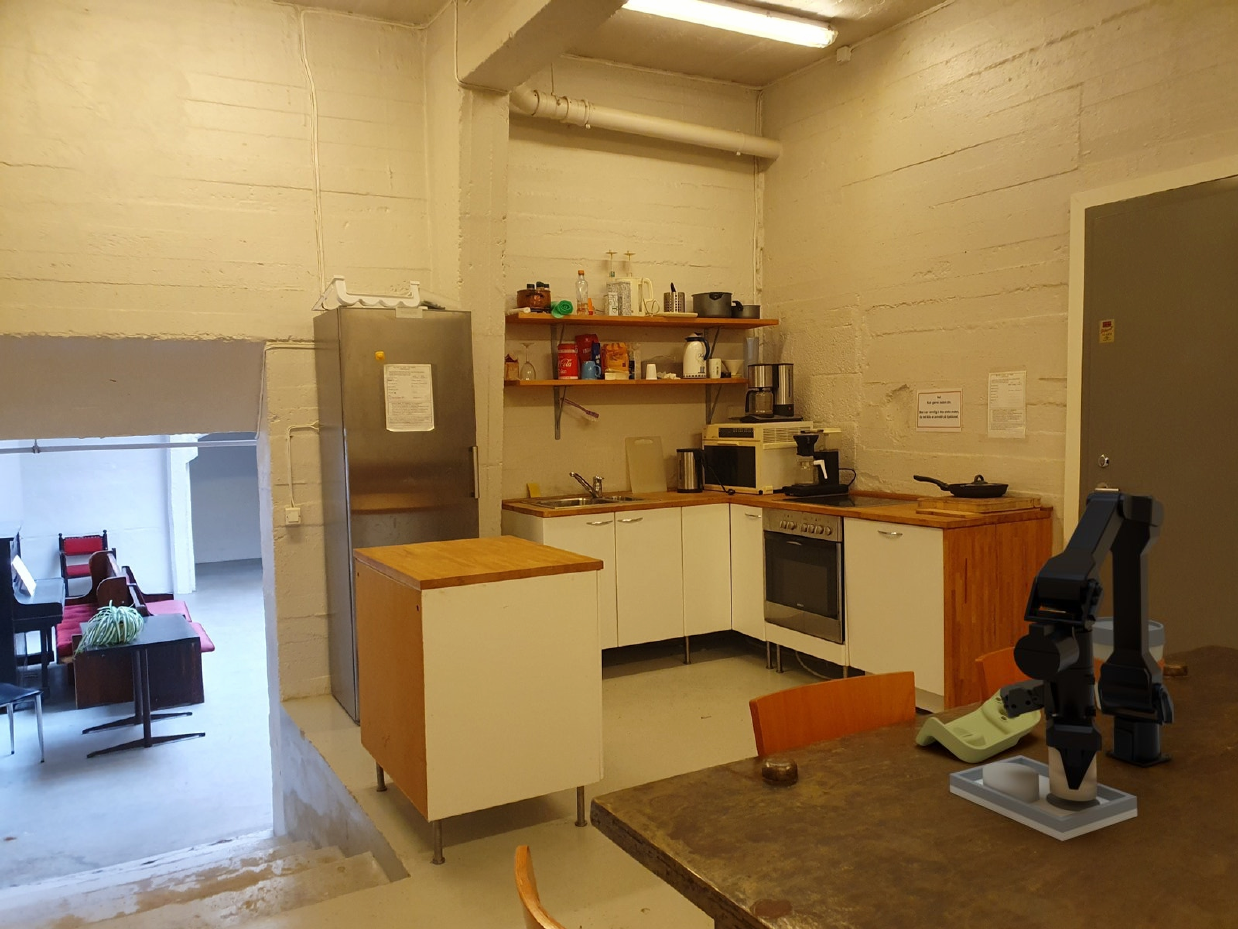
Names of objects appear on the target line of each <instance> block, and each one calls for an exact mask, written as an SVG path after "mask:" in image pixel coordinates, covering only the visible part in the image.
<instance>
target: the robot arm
mask: <svg viewBox="0 0 1238 929" xmlns="http://www.w3.org/2000/svg"><path fill="white" fill-rule="evenodd" d="M1083 511H1084V512H1083V513H1082V516H1081V517H1080V519H1079V521H1078V523H1077V524H1076V527H1075V528H1074V531H1073V533H1072V535H1071V537H1070V538H1069V540H1068V542H1067V545H1066V546H1065V548H1064V550H1063V551H1062V552H1061V553H1059V554H1057V555H1055V556H1052V557H1050V558H1048V559H1047V561H1046V562H1045V563H1043V565H1042V566H1041V568H1040V569H1039V571H1038V573H1037V574H1036V575H1035V577H1034V578H1033V580H1032V585H1031V587H1030V588H1031V589H1030V592H1029V596H1028V598H1027V599H1028V601H1027V605H1026V608H1025V612H1024V615H1023V621H1024V622H1028V623H1029V622H1030V623H1029V624H1028V634H1026V635H1025V634H1024V635H1023V636H1022V637H1020V638H1019V639H1018V640H1017V642H1016V643H1015V645H1014V649H1013V660H1014V662H1015V665H1016V666H1017V668H1018V669H1019V671H1020V672H1021V673H1022V674H1024V675H1025V676H1027V677H1028V678H1030V679H1026V680H1022V681H1018V682H1014V683H1010V684H1007V685H1004V686H1002V687H1000V688H1001V689H1000V688H999V689H1000V697H1001V700H1002V702H1003V707H1004V709H1006V712H1007V714H1008V716H1009V718H1015V717H1019V716H1020V715H1021V714H1025V713H1029V712H1033V711H1037V710H1039V711H1041V710H1043V712H1044V714H1043V715H1044V717H1045V746H1046V747H1048V746H1049V747H1054V748H1055V749H1056V750H1058V751H1059V752H1060V755H1061V759H1062V763H1063V767H1064V771H1065V775H1066V779H1067V783H1068V787H1069V789H1071V790H1078V789H1079V787H1080V785H1081V783H1082V781H1083V779H1084V777H1085V774H1086V772H1087V770H1088V768H1089V766H1090V764H1091V762H1092V760H1093V758H1094V756H1095V754H1096V755H1097V752H1101V751H1102V752H1103V735H1102V734H1103V733H1102V730H1101V726H1100V725H1098V724H1097V723H1096V722H1095V718H1097V708H1096V705H1095V704H1096V703H1095V701H1096V695H1095V688H1094V685H1095V675H1094V658H1093V629H1092V625H1093V624H1095V621H1096V620H1097V618H1099V613H1100V610H1101V607H1102V604H1103V602H1104V599H1105V596H1106V595H1105V589H1104V586H1103V582H1102V580H1101V576H1100V571H1101V569H1102V567H1103V564H1104V562H1105V560H1106V557H1107V556H1108V553H1109V552H1110V554H1111V569H1112V570H1111V572H1112V573H1111V575H1112V617H1113V652H1112V654H1111V655H1110V656H1109V658H1108V659H1107V661H1106V662H1105V663H1103V664H1102V666H1101V667H1100V675H1101V676H1100V678H1099V681H1098V695H1099V701H1100V706H1101V709H1100V710H1101V715H1103V716H1112V717H1113V729H1112V735H1113V736H1112V737H1113V740H1112V741H1113V742H1112V743H1113V745H1112V746H1113V747H1112V748H1110V749H1106V750H1104V753H1105V755H1107V756H1110V757H1113V758H1114V759H1119V760H1121V761H1125V762H1128V763H1132V764H1134V765H1137V766H1141V767H1149V766H1152V765H1155V764H1159V763H1162V762H1166V761H1169V760H1171V759H1172V755H1171V754H1168V753H1165V752H1162V730H1161V728H1162V727H1161V726H1164V725H1169V724H1174V722H1175V720H1174V718H1175V717H1174V714H1175V710H1174V708H1175V707H1174V705H1175V704H1174V702H1173V700H1172V698H1171V695H1170V693H1169V691H1168V689H1167V686H1166V685H1165V684H1164V683H1163V676H1162V670H1161V668H1160V667H1159V665H1158V664H1157V662H1156V661H1155V659H1154V658H1153V656H1152V655H1151V653H1150V652H1149V620H1150V619H1149V564H1148V563H1149V561H1148V559H1149V552H1150V551H1151V550H1152V548H1153V547H1154V545H1155V544H1156V542H1157V541H1158V540H1159V538H1160V536H1161V527H1162V526H1163V524H1164V520H1165V509H1164V505H1163V504H1162V502H1160V501H1159V500H1156V498H1155V497H1154V495H1152V494H1130V493H1125V492H1123V491H1110V490H1109V491H1103V490H1102V491H1101V490H1100V491H1097V490H1095V491H1093V492H1089V493H1088V494H1087V498H1086V501H1085V509H1084V510H1083ZM1041 608H1042V609H1043V610H1042V609H1041Z"/></svg>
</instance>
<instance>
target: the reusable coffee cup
mask: <svg viewBox="0 0 1238 929" xmlns="http://www.w3.org/2000/svg"><path fill="white" fill-rule="evenodd" d="M1092 629H1093V658H1094V675H1095V685H1094V695H1095V701H1096V706H1097V708H1098V709H1100V710H1101V706H1100V701H1099V695H1098V681H1099V678H1100V676H1101V675H1100V667H1101V666H1102V664H1103V663H1105V662H1106V661H1107V659H1108V658H1109V656H1110V655H1111V654H1112V652H1113V616H1103V617H1101V616H1100V617H1099V616H1098V617H1097V620H1096V621H1095V624H1093V625H1092ZM1166 641H1167V640H1166V634H1165V627H1164V624H1162V623H1160V622H1158V621H1155V620H1151V619H1149V652H1150V653H1151V655H1152V656H1153V658H1154V659H1155V661H1156V662H1157V664H1158V665H1159V667H1160V668H1161V670H1162V677H1163V675H1164V666H1165V657H1164V656H1163V653H1164V645H1165V644H1166V643H1167V642H1166Z"/></svg>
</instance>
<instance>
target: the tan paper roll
mask: <svg viewBox="0 0 1238 929" xmlns="http://www.w3.org/2000/svg"><path fill="white" fill-rule="evenodd" d="M1047 747H1048V765H1049V787H1050V792H1051V793H1052V794H1054V795H1055V796H1057V797H1060V798H1063V799H1068V800H1074V801H1088V800H1093V799H1095V798H1096V797H1097V783H1098V782H1097V778H1098V777H1097V753H1096V754H1095V756H1094V758H1093V760H1092V762H1091V764H1090V766H1089V768H1088V770H1087V772H1086V774H1085V777H1084V779H1083V781H1082V783H1081V785H1080V787H1079V789H1078V790H1071V789H1069V787H1068V783H1067V779H1066V775H1065V771H1064V767H1063V763H1062V759H1061V755H1060V752H1059V751H1058V750H1056V749H1055V748H1054V747H1049V746H1047Z"/></svg>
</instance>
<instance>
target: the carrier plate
mask: <svg viewBox="0 0 1238 929" xmlns="http://www.w3.org/2000/svg"><path fill="white" fill-rule="evenodd" d="M949 791H950V793H952V794H954V795H956V796H959V797H961V798H963V799H965V800H968V801H970V802H973V803H974V804H977V805H980V806H982V807H983V808H985V809H989V810H991V811H992V812H995V813H998V814H999V815H1002V816H1004V817H1007V818H1009V819H1012V820H1014V821H1016V822H1018V823H1020V824H1022V825H1025V826H1027V827H1030V828H1032V829H1034V830H1036V831H1038V832H1040V833H1043V834H1045V835H1048V836H1050V837H1053V838H1054V839H1057V840H1060V841H1061V842H1064V841H1066V840H1069V839H1073V838H1076V837H1078V836H1082V835H1084V834H1087V833H1090V832H1095V831H1096V830H1101V829H1102V828H1105V827H1108V826H1111V825H1115V824H1117V823H1120V822H1123V821H1127V820H1129V819H1132V818H1136V817H1138V796H1136V795H1133V794H1131V793H1127V792H1125V791H1123V790H1122V791H1121V790H1119V789H1118V788H1117V789H1116V788H1113V787H1111V786H1108V785H1106V784H1102V783H1100V782H1097V797H1096V798H1095V799H1093V800H1088V801H1074V800H1068V799H1063V798H1060V797H1057V796H1055V795H1054V794H1052V793H1051V792H1050V787H1049V764H1047V763H1044V762H1041V761H1039V760H1035V759H1032V758H1029V757H1027V756H1024V755H1021V754H1020V755H1016V756H1012V757H1008V758H1005V759H1001V760H998V761H994V762H991V763H990V762H989V763H987V764H983V765H979V766H974V767H971V768H968V769H967V768H966V769H965V770H964V769H963V770H961V771H957V772H952V773H949Z"/></svg>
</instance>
